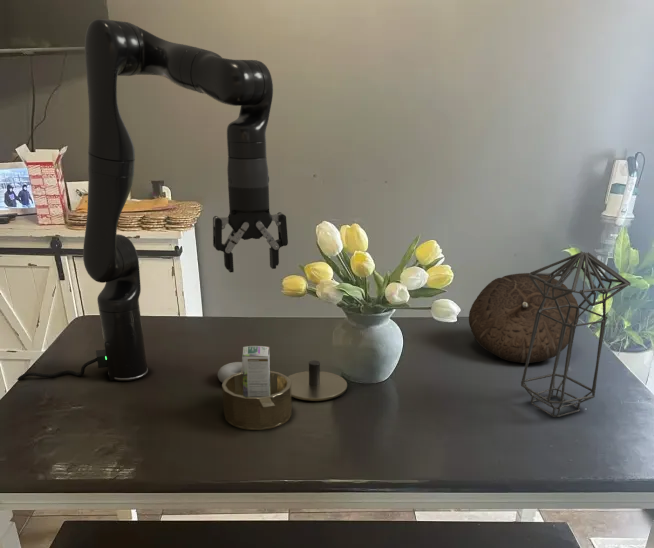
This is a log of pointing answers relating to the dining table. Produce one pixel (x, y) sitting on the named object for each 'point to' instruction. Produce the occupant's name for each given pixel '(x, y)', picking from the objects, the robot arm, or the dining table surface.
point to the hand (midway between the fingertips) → (252, 269)
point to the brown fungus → (519, 318)
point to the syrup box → (256, 371)
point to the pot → (257, 403)
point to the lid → (316, 384)
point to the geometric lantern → (569, 267)
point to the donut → (229, 370)
